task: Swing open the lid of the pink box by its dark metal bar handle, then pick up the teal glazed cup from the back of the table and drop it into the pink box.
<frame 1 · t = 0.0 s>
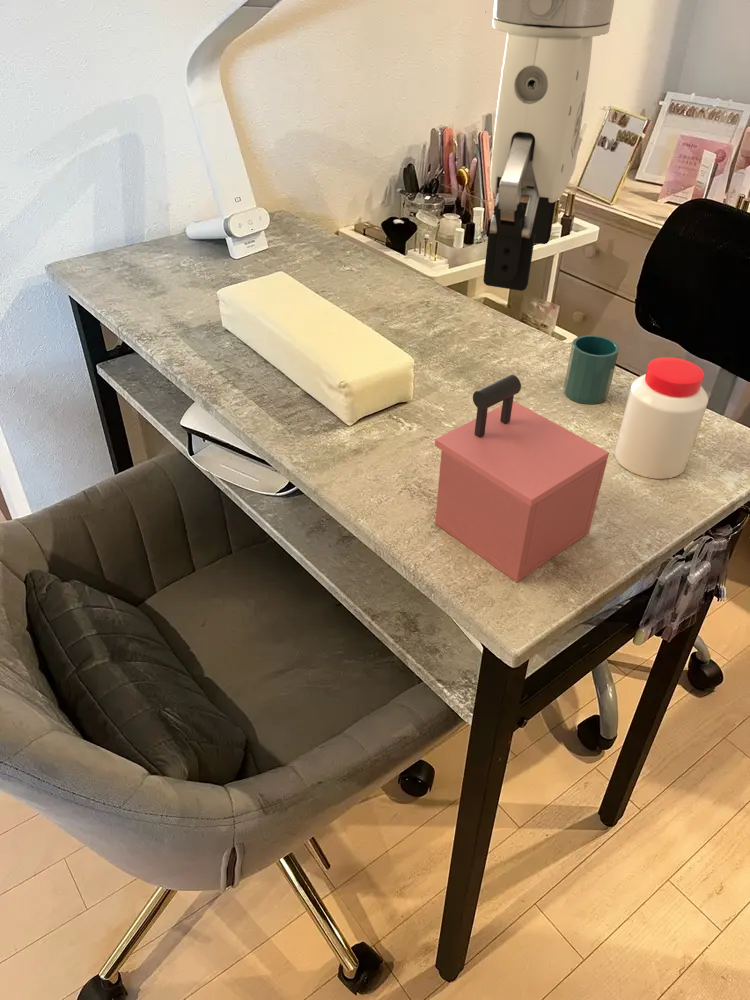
hand: (517, 262, 60), 26 cm above the table, tool pointing down, fingers open, 9 cm apart
pill bottle: (649, 459, 85), on the table
pink box: (511, 528, 75), on the table
cup: (585, 392, 95), on the table
lid: (524, 426, 68), point 12 cm above the table, hinge at 0.0°
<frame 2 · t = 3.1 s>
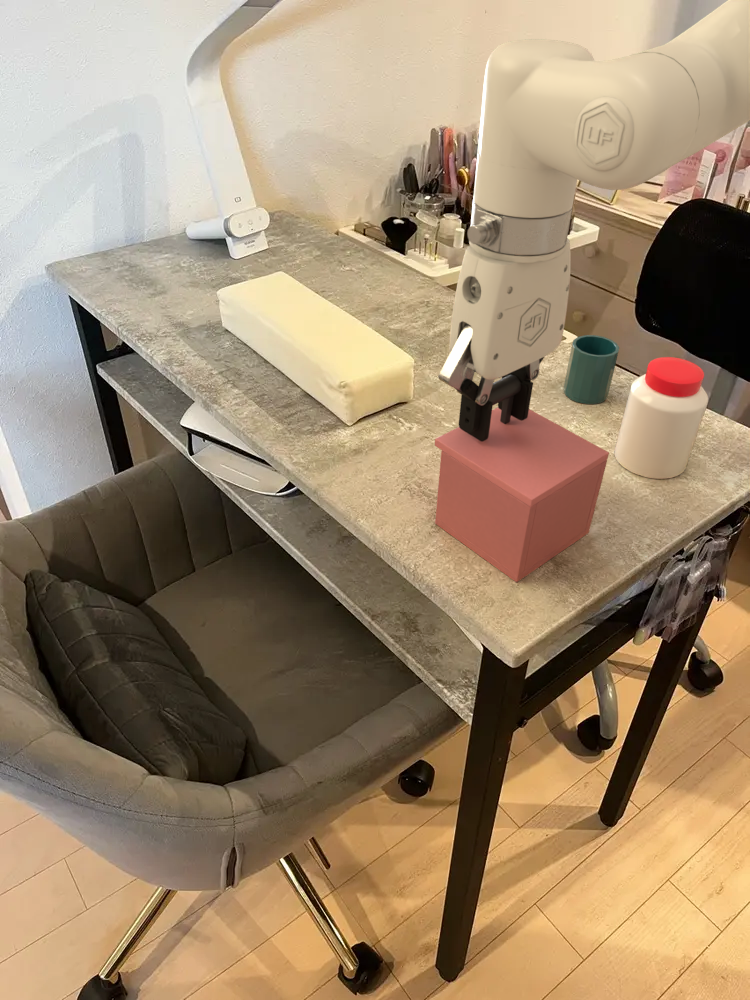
hand: (493, 421, 71), 10 cm above the table, tool pointing down, fingers closed on lid, 4 cm apart
lid: (524, 426, 68), point 12 cm above the table, hinge at 0.0°, touching gripper
everything else where it was.
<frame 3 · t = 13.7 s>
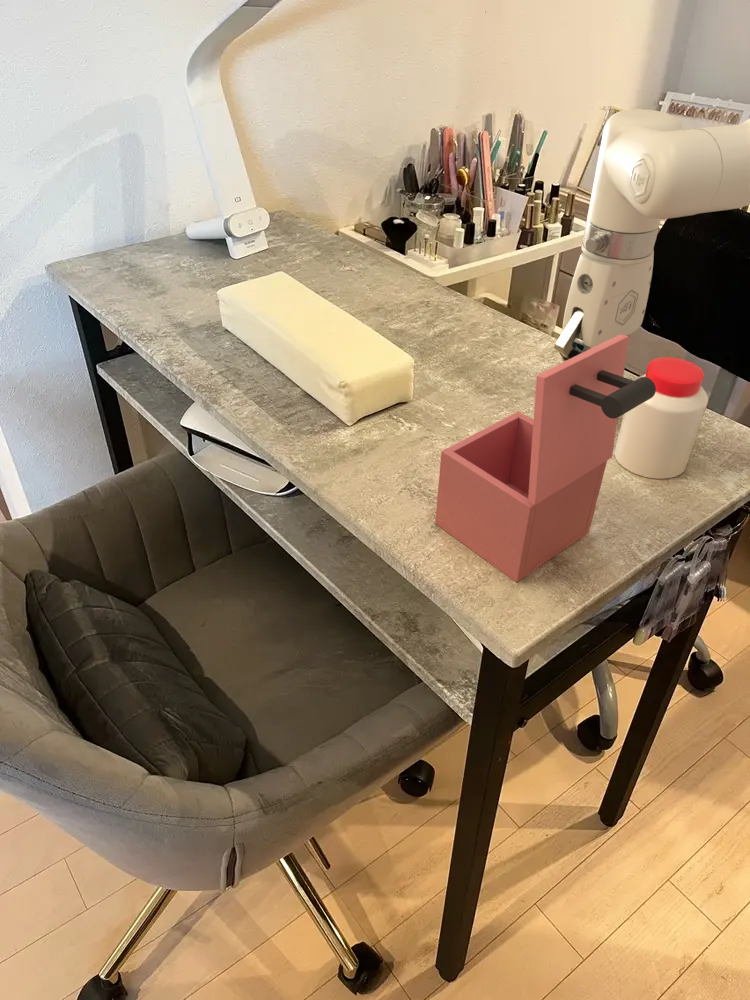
hand: (587, 382, 94), 1 cm above the table, tool pointing down, fingers closed on cup, 5 cm apart
cup: (585, 392, 95), on the table, touching gripper
lid: (602, 429, 61), point 15 cm above the table, hinge at 83.8°
everything else where it was.
when the fingers open (8 cm above the table, at t = 21.9 s): cup stays where it is, resting on pink box.
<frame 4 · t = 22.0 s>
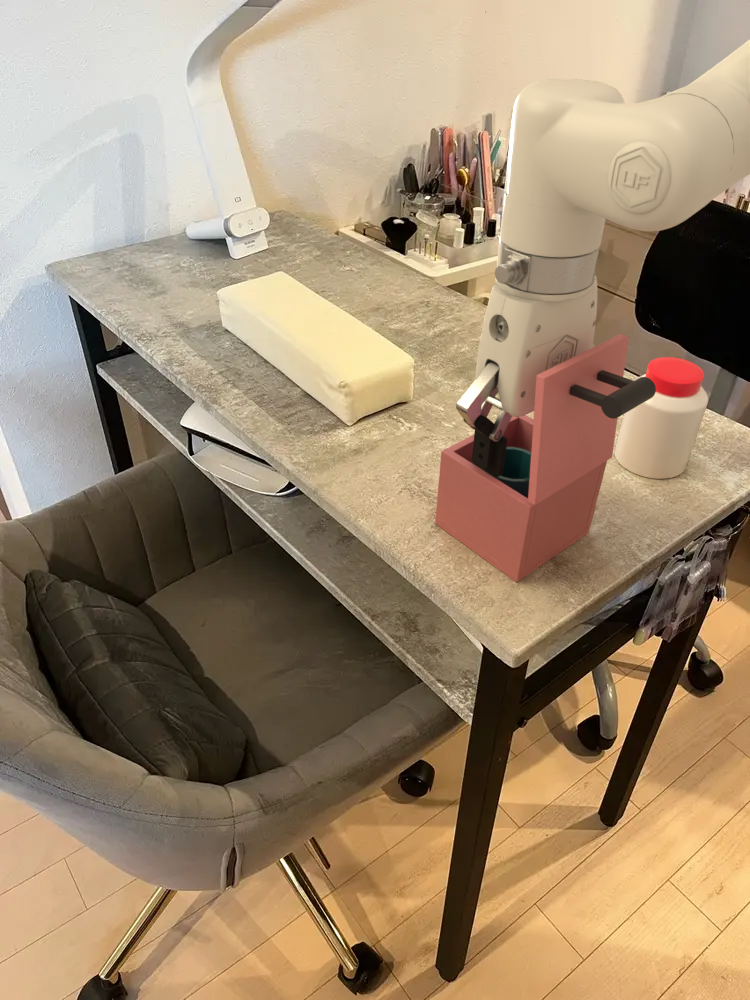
hand: (518, 450, 70), 9 cm above the table, tool pointing down, fingers open, 7 cm apart
cup: (504, 516, 75), point 1 cm above the table, touching pink box
everything else where it was.
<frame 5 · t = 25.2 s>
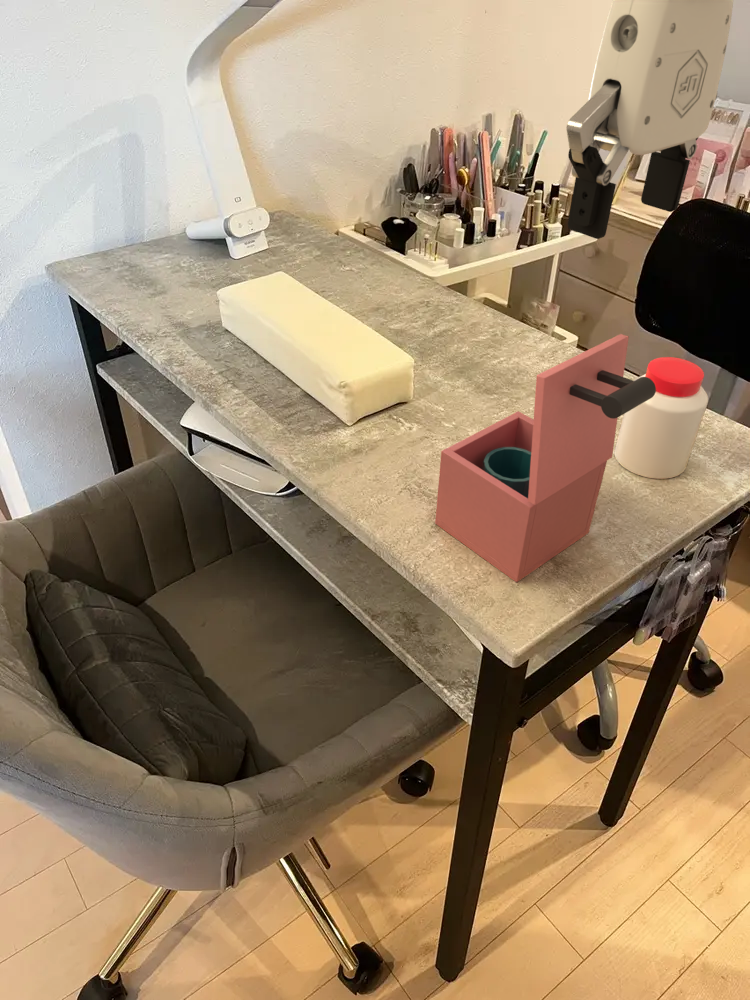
hand: (623, 219, 61), 28 cm above the table, tool pointing down, fingers open, 9 cm apart
nothing on the table moved.
at the end: lid at +84° (first picture: +0°); cup inside the target area in the pink box (1.0 cm from its centre), point 0.8 cm above the pink box's base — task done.
